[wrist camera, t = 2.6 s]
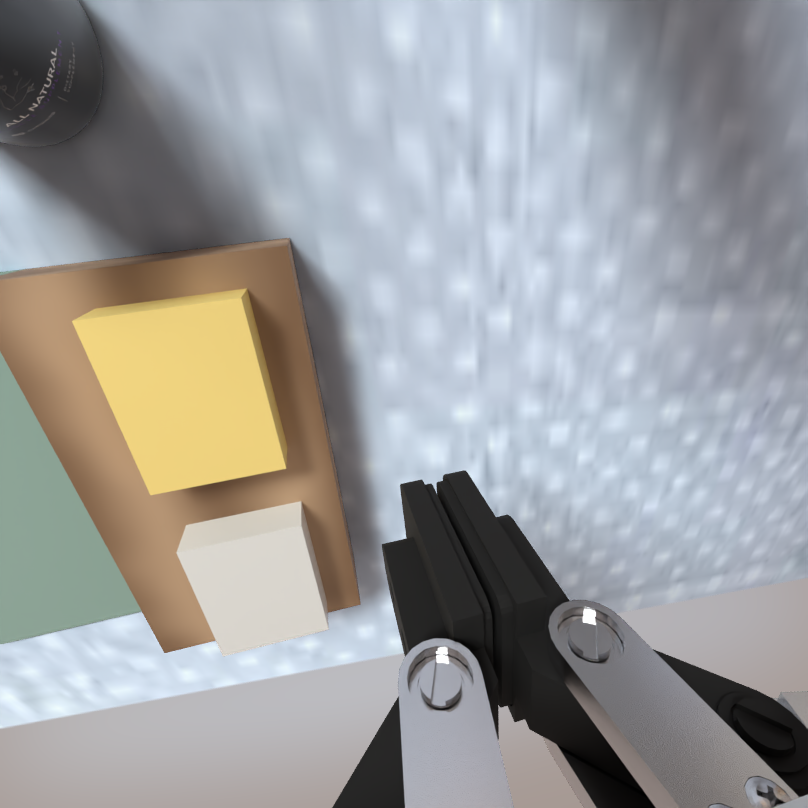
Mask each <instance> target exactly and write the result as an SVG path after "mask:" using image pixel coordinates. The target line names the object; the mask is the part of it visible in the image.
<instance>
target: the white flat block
mask: <svg viewBox="0 0 808 808" xmlns="http://www.w3.org/2000/svg"><path fill="white" fill-rule="evenodd" d="M176 553H177V555H178V558H179V560H180V562H181V564H182V566H183V569H184V571H185V573H186V575H187V578H188V580H189V582H190V584H191V586H192V589H193V591H194V593H195V595H196V598H197V600H198V602H199V604H200V606H201V609H202V611H203V613H204V615H205V617H206V620H207V622H208V624H209V626H210V629H211V631H212V633H213V635H214V637H215V640H216V642H217V644H218V646H219V649H220V651H221V653H222V655H223V656H227V655H230V654H234V653H238V652H242V651H246V650H250V649H254V648H258V647H262V646H266V645H270V644H274V643H278V642H282V641H285V640H289V639H293V638H297V637H301V636H305V635H309V634H313V633H317V632H321V631H325V630H329V627H328V611H327V600H326V596H325V592H324V588H323V584H322V580H321V576H320V572H319V568H318V565H317V561H316V557H315V553H314V549H313V545H312V541H311V537H310V533H309V529H308V525H307V521H306V518H305V514H304V510H303V506H302V502H301V501H300V502H295V503H290V504H285V505H280V506H276V507H271V508H266V509H261V510H256V511H252V512H247V513H242V514H237V515H232V516H228V517H223V518H218V519H213V520H209V521H204V522H199V523H194V524H189V525H186V527H185V530H184V533H183V535H182V538H181V541H180V544H179V547H178V550H177V552H176Z"/></svg>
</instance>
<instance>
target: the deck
mask: <svg viewBox="0 0 808 808" xmlns="http://www.w3.org/2000/svg"><path fill="white" fill-rule="evenodd" d="M246 288H247V290H248V294H249V298H250V302H251V306H252V310H253V314H254V318H255V322H256V326H257V329H258V333H259V337H260V341H261V345H262V349H263V353H264V357H265V361H266V365H267V369H268V373H269V376H270V380H271V384H272V388H273V392H274V396H275V400H276V404H277V408H278V412H279V416H280V420H281V423H282V427H283V431H284V435H285V439H286V443H287V464H286V469H282V470H277V471H272V472H267V473H262V474H257V475H252V476H247V477H242V478H236V479H231V480H226V481H221V482H216V483H211V484H206V485H201V486H196V487H191V488H186V489H181V490H175V491H170V492H165V493H160V494H155V495H150V493H149V491H148V489H147V487H146V484H145V482H144V480H143V478H142V476H141V473H140V471H139V469H138V467H137V465H136V462H135V460H134V458H133V456H132V453H131V451H130V449H129V447H128V445H127V442H126V440H125V438H124V436H123V433H122V431H121V429H120V427H119V425H118V422H117V420H116V418H115V416H114V414H113V411H112V409H111V407H110V405H109V402H108V400H107V398H106V396H105V394H104V391H103V389H102V387H101V385H100V382H99V380H98V378H97V376H96V374H95V371H94V369H93V367H92V365H91V363H90V360H89V358H88V356H87V354H86V351H85V349H84V347H83V345H82V343H81V340H80V338H79V336H78V334H77V331H76V329H75V327H74V325H73V323H72V321H73V320H75V319H77V318H79V317H80V316H82V315H84V314H86V313H88V312H90V311H92V310H94V309H97V308H104V307H112V306H119V305H127V304H134V303H142V302H149V301H157V300H164V299H172V298H179V297H186V296H194V295H201V294H209V293H216V292H224V291H231V290H239V289H246ZM0 352H1V354H2V356H3V357H4V359H5V361H6V363H7V365H8V367H9V368H10V370H11V372H12V374H13V376H14V378H15V379H16V381H17V383H18V385H19V387H20V389H21V390H22V392H23V394H24V396H25V398H26V400H27V401H28V403H29V405H30V407H31V409H32V411H33V412H34V414H35V416H36V418H37V420H38V422H39V423H40V425H41V427H42V429H43V431H44V433H45V434H46V436H47V438H48V440H49V442H50V444H51V446H52V447H53V449H54V451H55V453H56V455H57V457H58V458H59V460H60V462H61V464H62V466H63V468H64V469H65V471H66V473H67V475H68V477H69V479H70V480H71V482H72V484H73V486H74V488H75V490H76V491H77V493H78V495H79V497H80V499H81V501H82V502H83V504H84V506H85V508H86V510H87V512H88V513H89V515H90V517H91V519H92V521H93V523H94V524H95V526H96V528H97V530H98V532H99V534H100V535H101V537H102V539H103V541H104V543H105V545H106V546H107V548H108V550H109V552H110V554H111V556H112V557H113V559H114V561H115V563H116V565H117V567H118V568H119V570H120V572H121V574H122V576H123V578H124V579H125V581H126V583H127V585H128V587H129V589H130V590H131V592H132V594H133V596H134V598H135V600H136V601H137V603H138V605H139V607H140V609H141V611H142V612H143V614H144V616H145V618H146V620H147V622H148V623H149V625H150V627H151V629H152V631H153V633H154V634H155V636H156V638H157V640H158V642H159V644H160V645H161V647H162V649H163V651H164V653H167V652H171V651H175V650H179V649H183V648H187V647H191V646H195V645H199V644H203V643H207V642H211V641H215V637H214V635H213V633H212V631H211V629H210V626H209V624H208V622H207V620H206V617H205V615H204V613H203V611H202V609H201V606H200V604H199V602H198V600H197V598H196V595H195V593H194V591H193V589H192V586H191V584H190V582H189V580H188V578H187V575H186V573H185V571H184V569H183V566H182V564H181V562H180V560H179V558H178V555H177V553H176V552H177V550H178V547H179V544H180V541H181V538H182V535H183V533H184V530H185V527H186V525H189V524H194V523H199V522H204V521H209V520H213V519H218V518H223V517H228V516H232V515H237V514H242V513H247V512H252V511H256V510H261V509H266V508H271V507H276V506H280V505H285V504H290V503H295V502H300V501H301V502H302V506H303V510H304V514H305V518H306V521H307V525H308V529H309V533H310V537H311V541H312V545H313V549H314V553H315V557H316V561H317V565H318V568H319V572H320V576H321V580H322V584H323V588H324V592H325V596H326V600H327V611H328V612H332V611H336V610H340V609H344V608H348V607H352V606H356V605H360V597H359V590H358V584H357V577H356V570H355V563H354V557H353V552H352V547H351V542H350V537H349V532H348V527H347V522H346V517H345V512H344V507H343V502H342V497H341V492H340V487H339V482H338V477H337V472H336V467H335V462H334V457H333V452H332V447H331V442H330V437H329V432H328V427H327V422H326V417H325V413H324V408H323V403H322V398H321V393H320V388H319V383H318V378H317V373H316V368H315V363H314V358H313V353H312V348H311V343H310V338H309V333H308V328H307V323H306V318H305V313H304V308H303V303H302V298H301V293H300V288H299V283H298V278H297V273H296V268H295V263H294V258H293V253H292V248H291V243H290V238H285V239H276V240H268V241H259V242H251V243H243V244H234V245H226V246H217V247H209V248H200V249H192V250H184V251H175V252H167V253H158V254H150V255H141V256H133V257H125V258H116V259H108V260H99V261H91V262H82V263H74V264H66V265H57V266H49V267H40V268H32V269H24V270H20V271H16V272H12V273H8V274H4V275H0Z"/></svg>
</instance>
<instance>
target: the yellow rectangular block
mask: <svg viewBox="0 0 808 808" xmlns="http://www.w3.org/2000/svg"><path fill="white" fill-rule="evenodd" d="M72 323H73V325H74V327H75V329H76V331H77V334H78V336H79V338H80V340H81V343H82V345H83V347H84V349H85V351H86V354H87V356H88V358H89V360H90V363H91V365H92V367H93V369H94V371H95V374H96V376H97V378H98V380H99V382H100V385H101V387H102V389H103V391H104V394H105V396H106V398H107V400H108V402H109V405H110V407H111V409H112V411H113V414H114V416H115V418H116V420H117V422H118V425H119V427H120V429H121V431H122V433H123V436H124V438H125V440H126V442H127V445H128V447H129V449H130V451H131V453H132V456H133V458H134V460H135V462H136V465H137V467H138V469H139V471H140V473H141V476H142V478H143V480H144V482H145V484H146V487H147V489H148V491H149V493H150V495H155V494H160V493H165V492H170V491H175V490H181V489H186V488H191V487H196V486H201V485H206V484H211V483H216V482H221V481H226V480H231V479H236V478H242V477H247V476H252V475H257V474H262V473H267V472H272V471H277V470H282V469H286V464H287V443H286V439H285V435H284V431H283V427H282V423H281V420H280V416H279V412H278V408H277V404H276V400H275V396H274V392H273V388H272V384H271V380H270V376H269V373H268V369H267V365H266V361H265V357H264V353H263V349H262V345H261V341H260V337H259V333H258V329H257V326H256V322H255V318H254V314H253V310H252V306H251V302H250V298H249V294H248V290H247V288H246V289H239V290H231V291H224V292H216V293H209V294H201V295H194V296H186V297H179V298H172V299H164V300H157V301H149V302H142V303H134V304H127V305H119V306H112V307H104V308H97V309H94V310H92V311H90V312H88V313H86V314H84V315H82V316H80V317H79V318H77V319H75V320H73V321H72Z"/></svg>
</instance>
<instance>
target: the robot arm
mask: <svg viewBox="0 0 808 808" xmlns="http://www.w3.org/2000/svg"><path fill="white" fill-rule="evenodd" d="M400 489H401V497H402V505H403V513H404V521H405V529H406V537H407V539H403V540H398V541H394V542H390V543H386V544H382V550H383V556H384V562H385V569H386V574H387V580H388V585H389V590H390V594H391V599H392V603H393V608H394V612H395V616H396V620H397V625H398V629H399V633H400V637H401V641H402V646H403V650H404V654H405V658H404V660H403V662H402V665H401V667H400V669H399V678H398V690H399V697H398V698H397V700H396V702H395V703H394V705H393V707H392V708H391V710H390V712H389V713H388V715H387V717H386V718H385V720H384V722H383V723H382V725H381V727H380V728H379V730H378V732H377V734H376V735H375V737H374V739H373V740H372V742H371V744H370V745H369V747H368V749H367V750H366V752H365V754H364V756H363V757H362V759H361V760H360V762H359V764H358V765H357V767H356V769H355V771H354V772H353V774H352V776H351V778H350V779H349V781H348V783H347V784H346V786H345V787H344V789H343V791H342V793H341V794H340V796H339V798H338V799H337V801H336V802H335V804H334V806H333V808H514V806H513V802H512V798H511V793H510V789H509V785H508V781H507V776H506V772H505V768H504V764H503V760H502V755H501V751H500V747H499V743H498V739H499V736H498V705H499V706H500V707H504V706H508V707H509V710H510V712H511V714H512V717H513V719H514V722H517V721H520V720H523V719H525V720H526V722H527V724H528V727H529V729H530V730H532V731H534V732H536V733H537V734H539V735H541V736H543V738H544V741H545V743H546V745H547V748H548V750H549V752H550V753H551V755H552V756H553V758H554V760H555V761H556V763H557V765H558V766H559V768H560V770H561V771H562V773H563V775H564V776H565V778H566V779H567V781H568V783H569V784H570V786H571V788H572V789H573V791H574V793H575V794H576V796H577V798H578V799H579V801H580V803H581V804H582V806H583V807H584V808H808V691H807V692H806V691H805V692H781V693H780V695H779V698H770V697H768V696H766V695H764V694H762V693H760V692H758V691H757V690H754V689H751V688H749V687H746V686H744V685H741V684H739V683H736V682H734V681H731V680H729V679H726V678H723V677H721V676H719V675H716V674H714V673H711V672H709V671H706V670H704V669H701V668H699V667H696V666H693V665H691V664H688V663H686V662H684V661H681V660H679V659H676V658H673V657H671V656H668V655H666V654H663V653H661V652H658V651H656V650H653V649H652V648H651V647H650V646H649V645H648V644H647V643H646V642H645V641H644V640H643V639H642V638H641V637H640V636H639V635H638V634H637V633H636V632H635V631H634V630H633V629H632V628H631V627H630V626H629V625H628V624H627V623H626V622H625V621H624V620H623V619H622V618H621V617H620V616H618V615H617V614H616V613H615V612H613V611H612V610H611V609H609V608H607V607H605V606H603V605H601V604H599V603H595V602H591V601H587V600H572V601H569V599H568V598H567V597H566V595H565V594H564V592H563V591H562V589H561V588H560V586H559V585H558V584H557V582H556V581H555V579H554V578H553V576H552V575H551V573H550V572H549V570H548V569H547V568H546V566H545V565H544V563H543V562H542V560H541V559H540V557H539V556H538V555H537V553H536V552H535V550H534V549H533V547H532V546H531V544H530V543H529V542H528V540H527V539H526V537H525V536H524V534H523V533H522V531H521V530H520V528H519V527H518V526H517V524H516V523H515V521H514V520H513V519H512V518H511V517H510V516H509V515H504V516H500V517H495V515H494V514H493V512H492V511H491V509H490V507H489V506H488V504H487V503H486V501H485V500H484V498H483V496H482V495H481V493H480V492H479V490H478V489H477V487H476V485H475V484H474V482H473V481H472V479H471V478H470V476H469V475H468V473H467V472H466V471H459V472H455V473H450V474H445V475H444V476H443V481H441V482H437V494H436V491H435V489H434V487H433V485H432V484H427V485H425V484H424V482H423V480H418V481H413V482H408V483H404V484H401V485H400Z"/></svg>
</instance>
